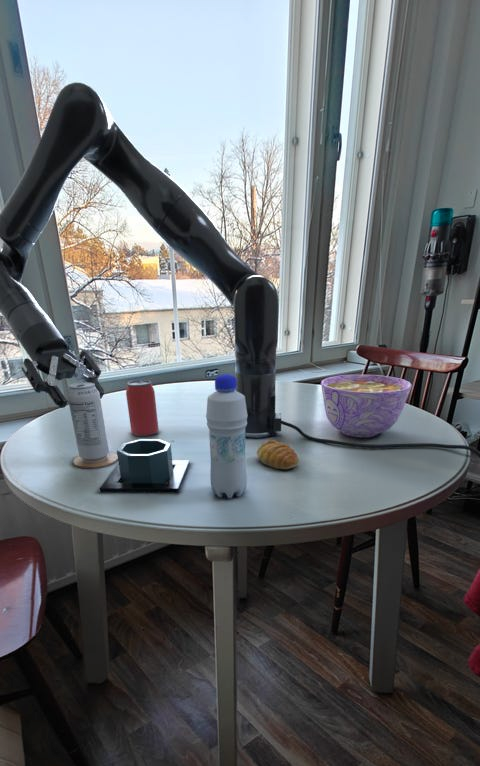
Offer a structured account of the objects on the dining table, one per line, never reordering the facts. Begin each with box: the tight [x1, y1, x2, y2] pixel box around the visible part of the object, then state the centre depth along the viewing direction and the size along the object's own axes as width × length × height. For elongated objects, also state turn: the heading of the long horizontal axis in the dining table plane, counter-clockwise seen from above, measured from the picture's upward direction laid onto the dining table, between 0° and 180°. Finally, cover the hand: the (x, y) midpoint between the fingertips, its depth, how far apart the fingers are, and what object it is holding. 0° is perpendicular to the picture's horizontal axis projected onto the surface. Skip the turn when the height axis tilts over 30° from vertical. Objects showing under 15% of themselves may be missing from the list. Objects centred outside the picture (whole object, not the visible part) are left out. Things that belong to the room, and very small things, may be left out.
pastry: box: [256, 439, 300, 470], centre depth 91 cm, size 9×7×4 cm
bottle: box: [205, 373, 248, 499], centre depth 75 cm, size 7×7×20 cm
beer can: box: [125, 379, 160, 437], centre depth 109 cm, size 7×7×12 cm
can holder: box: [99, 438, 190, 494], centre depth 85 cm, size 14×14×6 cm
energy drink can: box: [66, 381, 110, 463], centre depth 92 cm, size 6×6×15 cm
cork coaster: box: [73, 451, 118, 469], centre depth 95 cm, size 9×9×1 cm
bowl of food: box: [320, 374, 413, 438], centre depth 106 cm, size 20×20×12 cm
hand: (83, 400), depth 90 cm, fingers open, 8 cm apart
